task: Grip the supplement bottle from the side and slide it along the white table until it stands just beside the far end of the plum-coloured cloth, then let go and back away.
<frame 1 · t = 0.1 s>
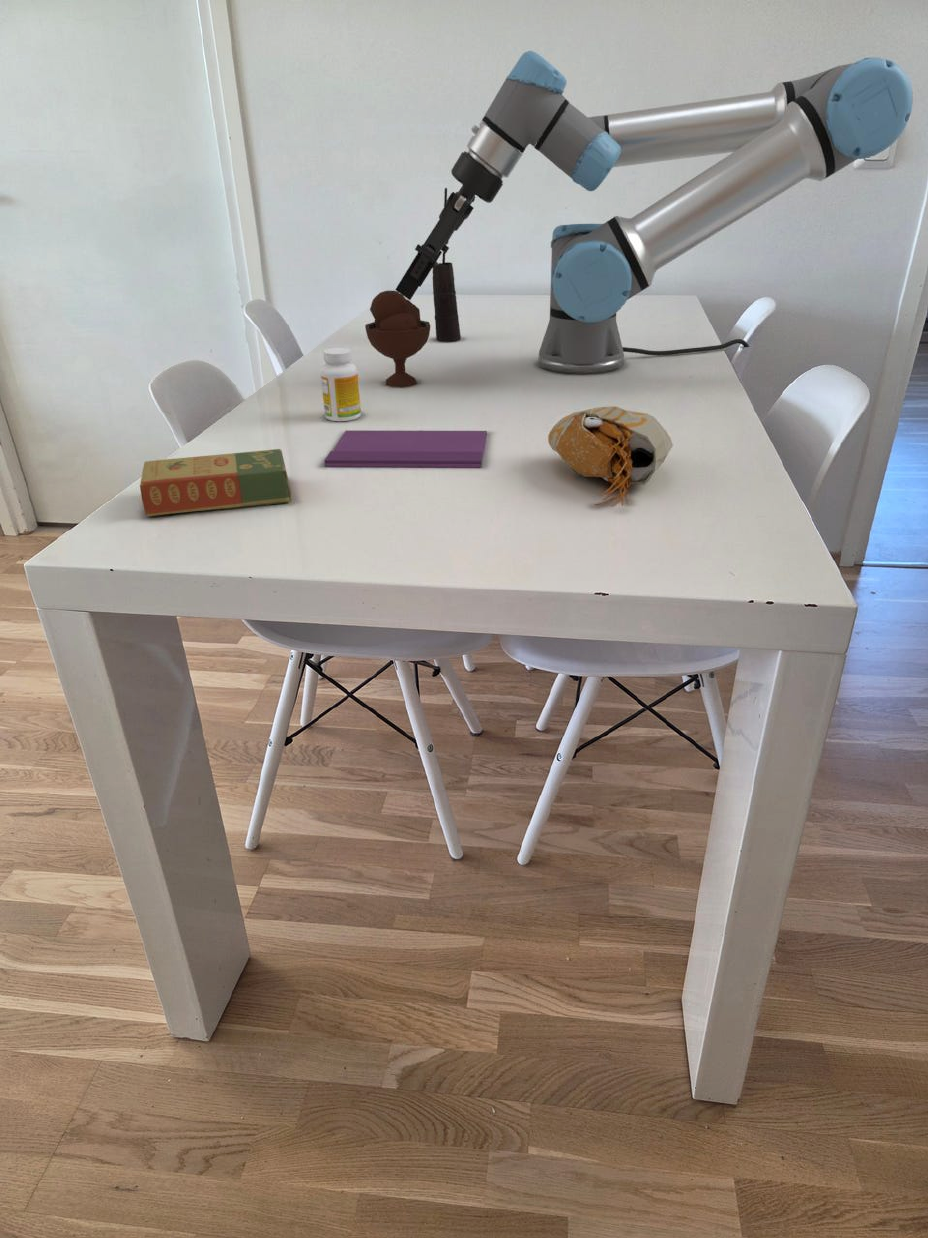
hand: (408, 287, 135), 15 cm above the table, tool tilted 35°, fingers open, 13 cm apart
butter churn: (444, 339, 174), on the table
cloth: (409, 449, 112), on the table
supplement bottle: (343, 418, 126), on the table
nautilus: (604, 483, 100), on the table
ice cream bowl: (401, 384, 143), on the table
carton: (220, 499, 98), on the table
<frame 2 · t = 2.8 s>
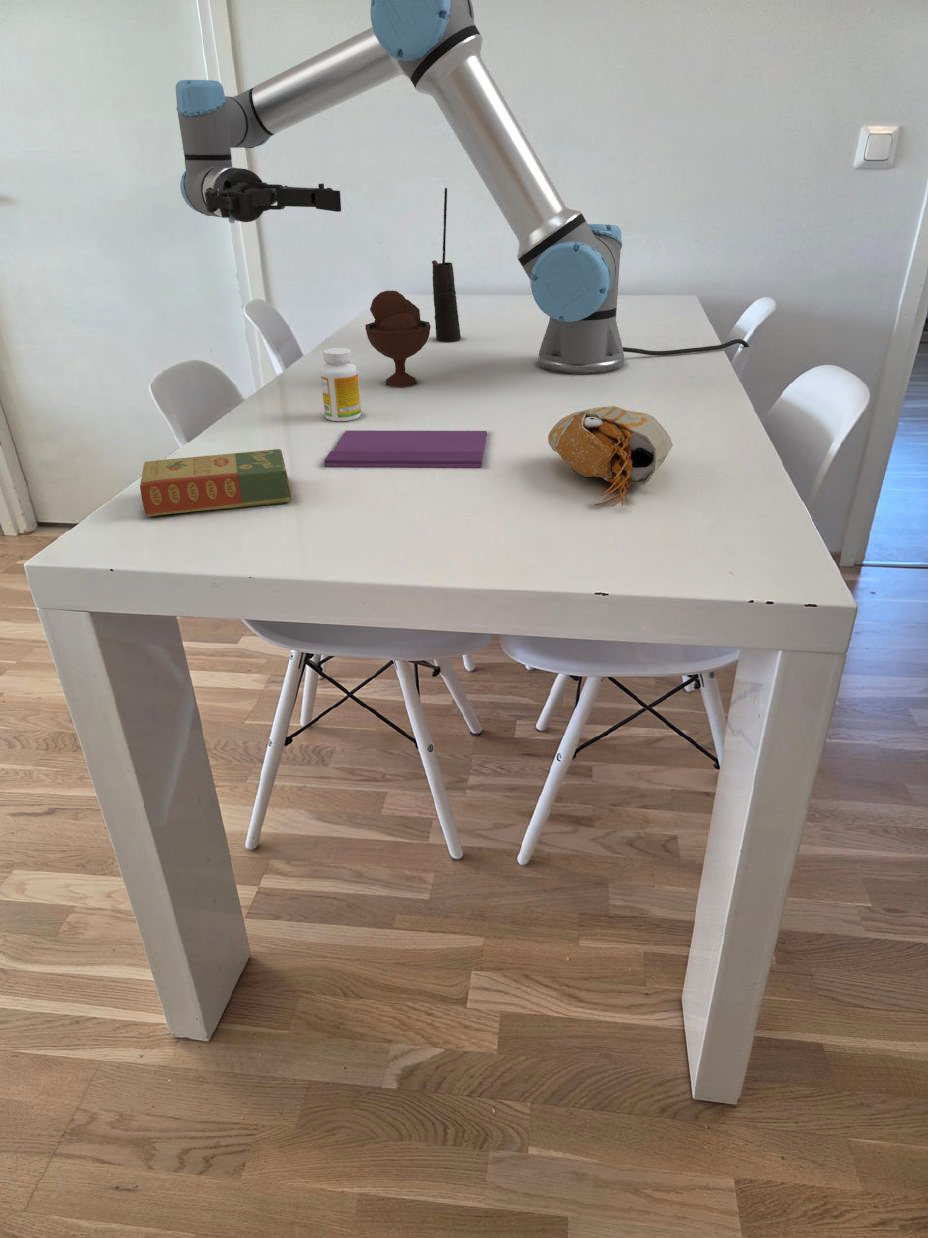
hand: (296, 202, 119), 29 cm above the table, tool horizontal, fingers open, 13 cm apart
nothing on the table moved.
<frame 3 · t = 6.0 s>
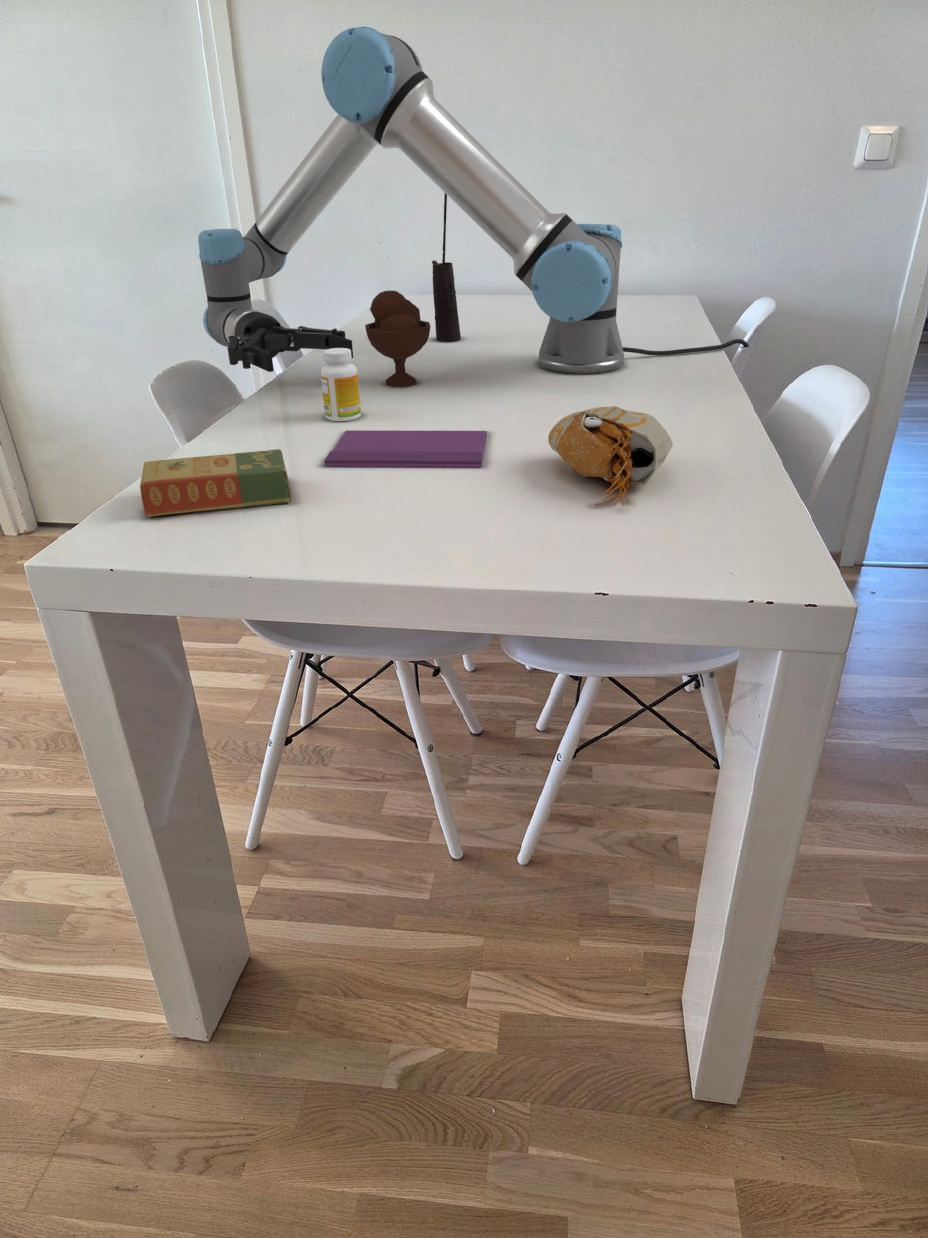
hand: (311, 355, 128), 8 cm above the table, tool horizontal, fingers open, 13 cm apart
nothing on the table moved.
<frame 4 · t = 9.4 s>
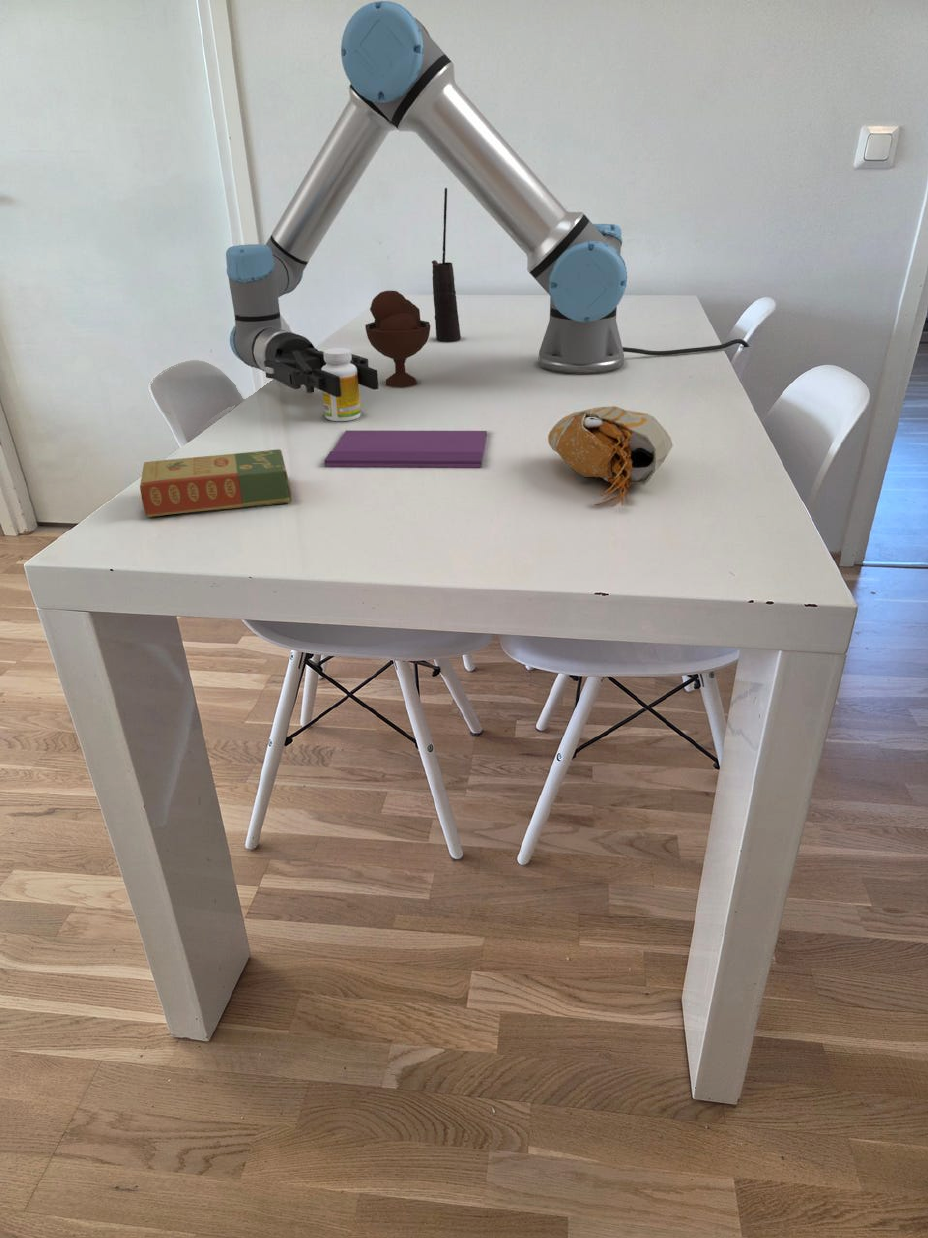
hand: (356, 383, 120), 6 cm above the table, tool horizontal, fingers closed on supplement bottle, 5 cm apart
supplement bottle: (343, 418, 126), on the table, touching gripper
everything else where it was.
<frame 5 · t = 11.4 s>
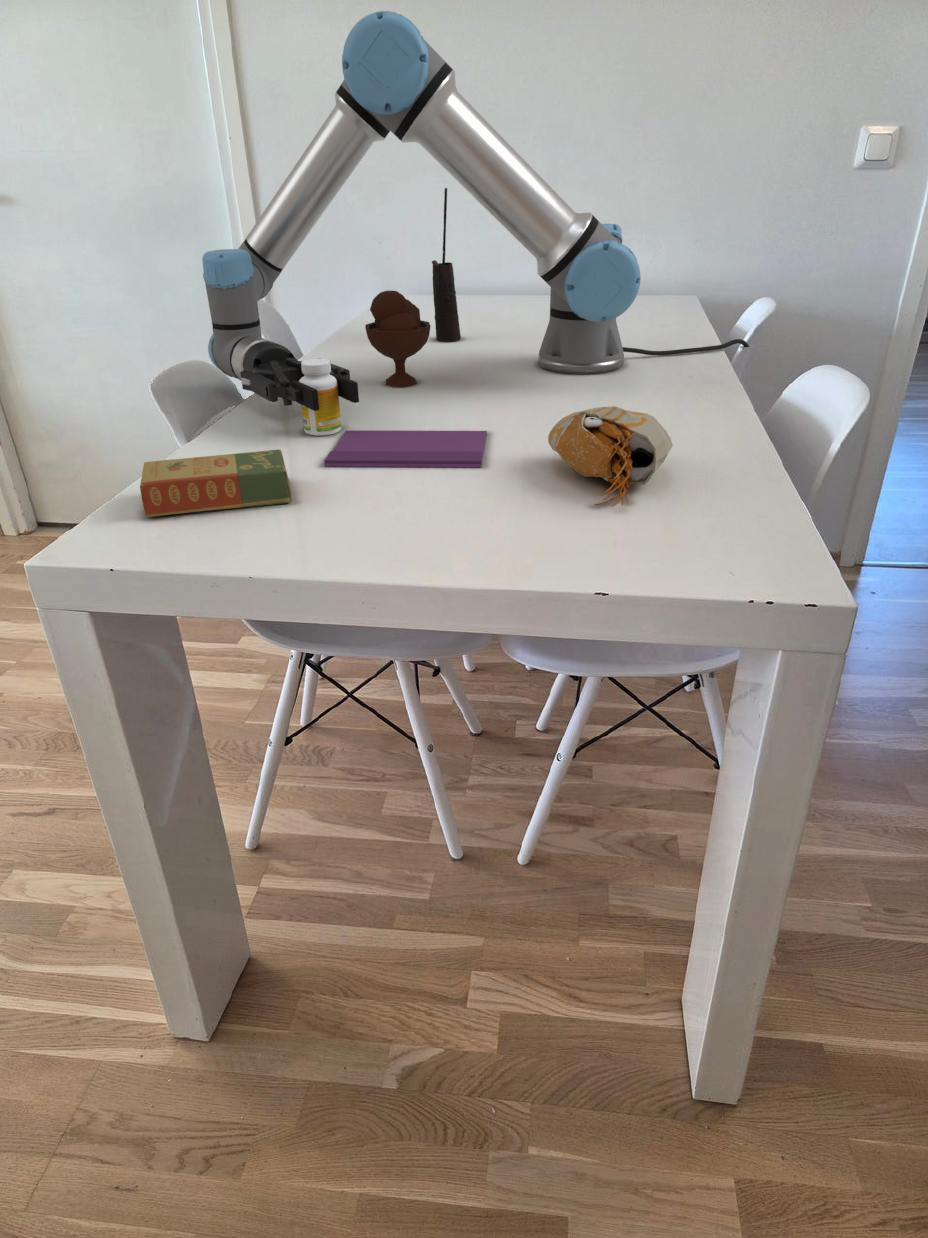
hand: (336, 396, 114), 6 cm above the table, tool horizontal, fingers closed on supplement bottle, 5 cm apart
supplement bottle: (323, 431, 120), on the table, touching gripper
everything else where it was.
when the fingers open (6 cm above the table, at t = 13.7 s): supplement bottle stays where it is, on the table.
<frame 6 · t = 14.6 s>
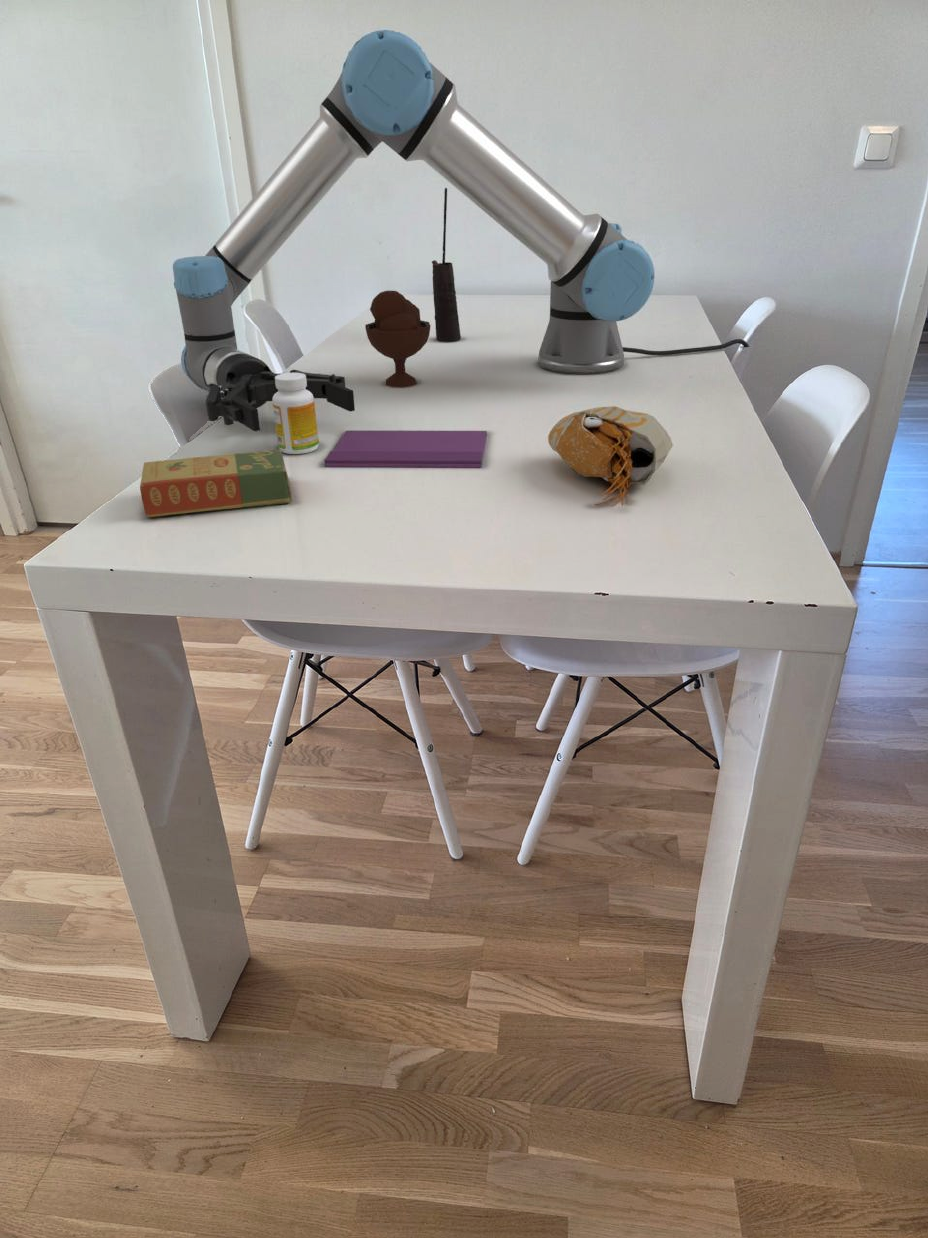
hand: (305, 410, 108), 6 cm above the table, tool horizontal, fingers open, 13 cm apart
supplement bottle: (299, 449, 114), on the table
everything else where it was.
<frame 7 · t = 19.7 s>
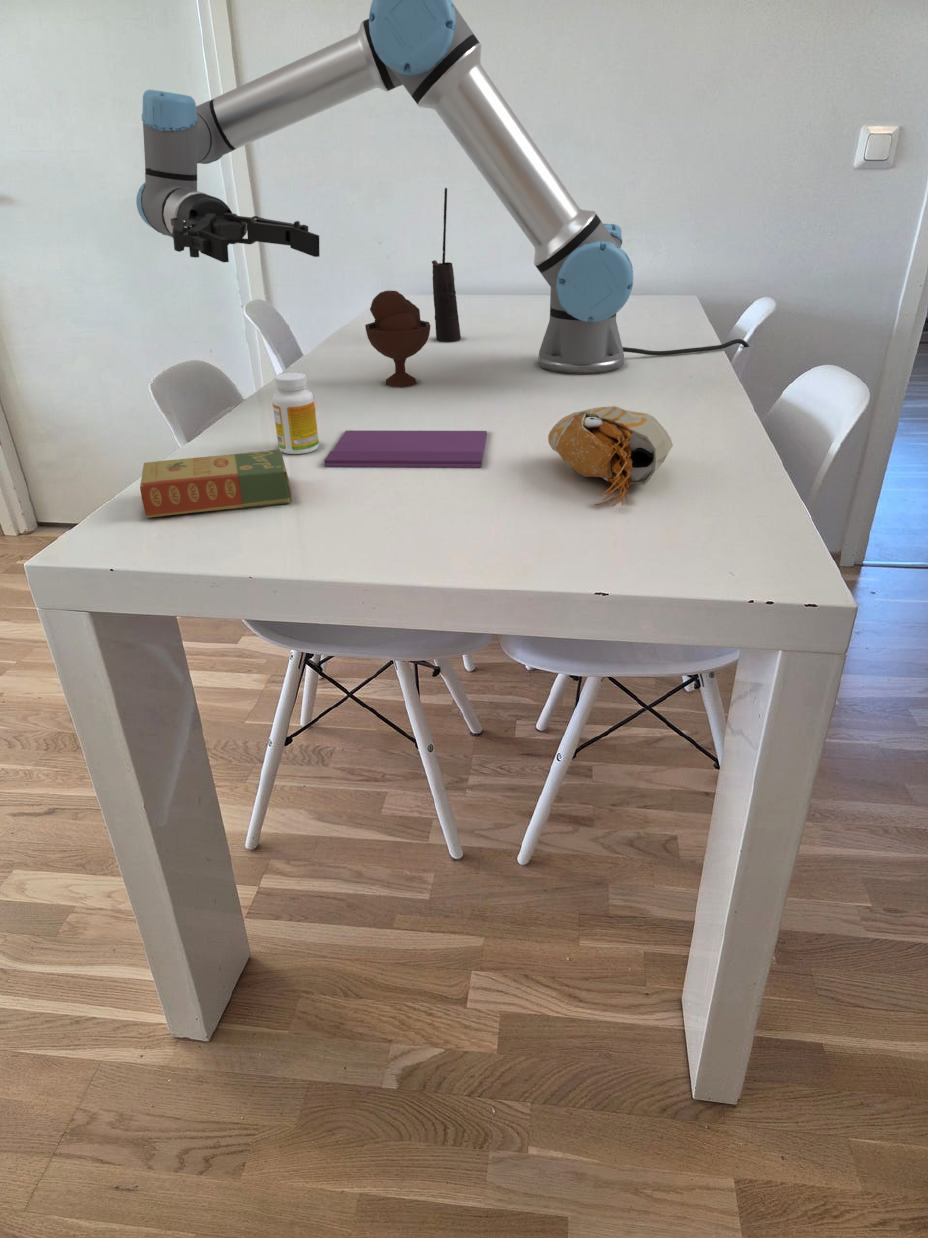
hand: (272, 248, 111), 24 cm above the table, tool horizontal, fingers open, 13 cm apart
nothing on the table moved.
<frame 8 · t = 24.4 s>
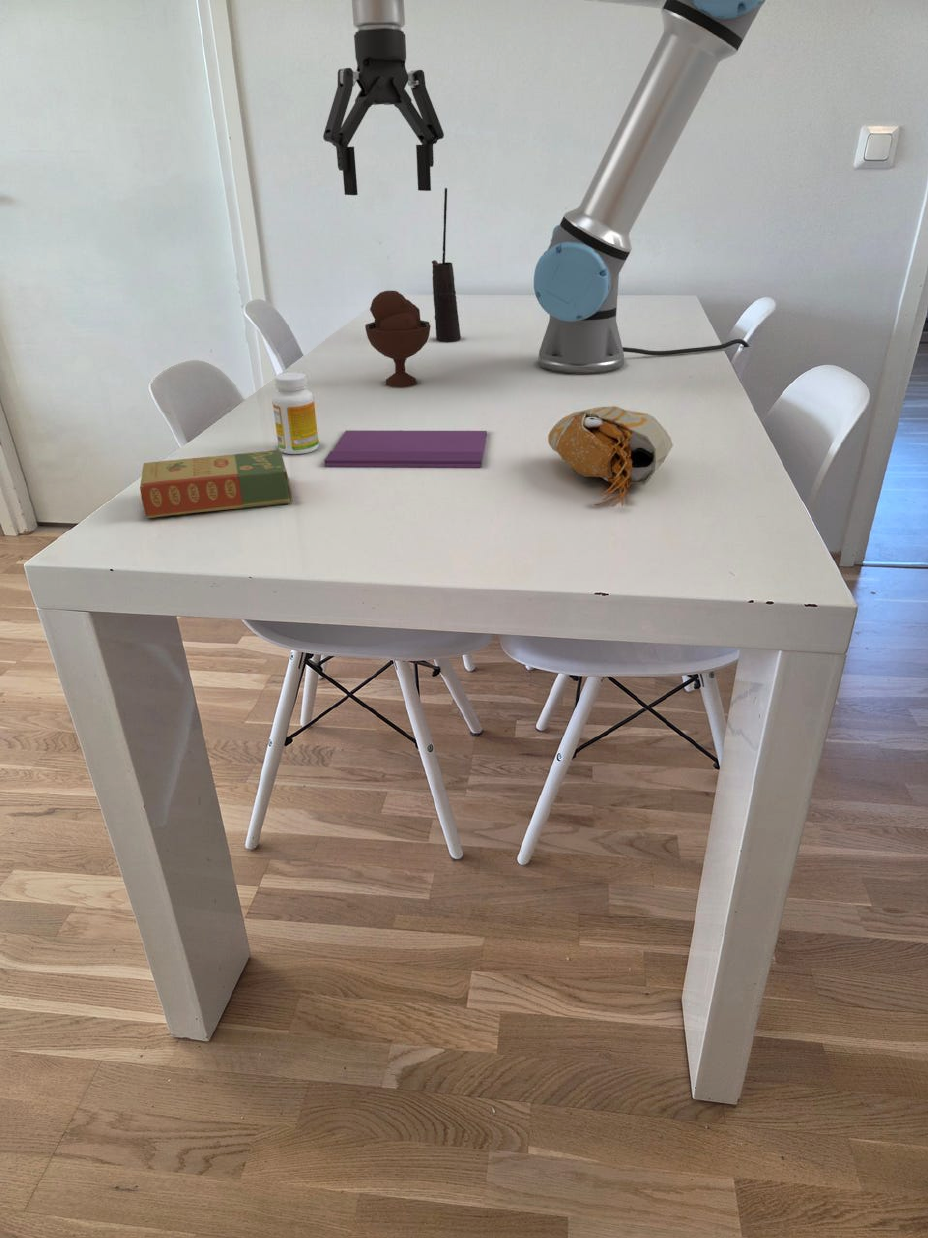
hand: (388, 192, 133), 29 cm above the table, tool pointing down, fingers open, 13 cm apart
nothing on the table moved.
at the end: supplement bottle inside the target area on the table beside the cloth (0.7 cm from its centre), on the table; supplement bottle tilted 0°; the gripper is holding nothing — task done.
